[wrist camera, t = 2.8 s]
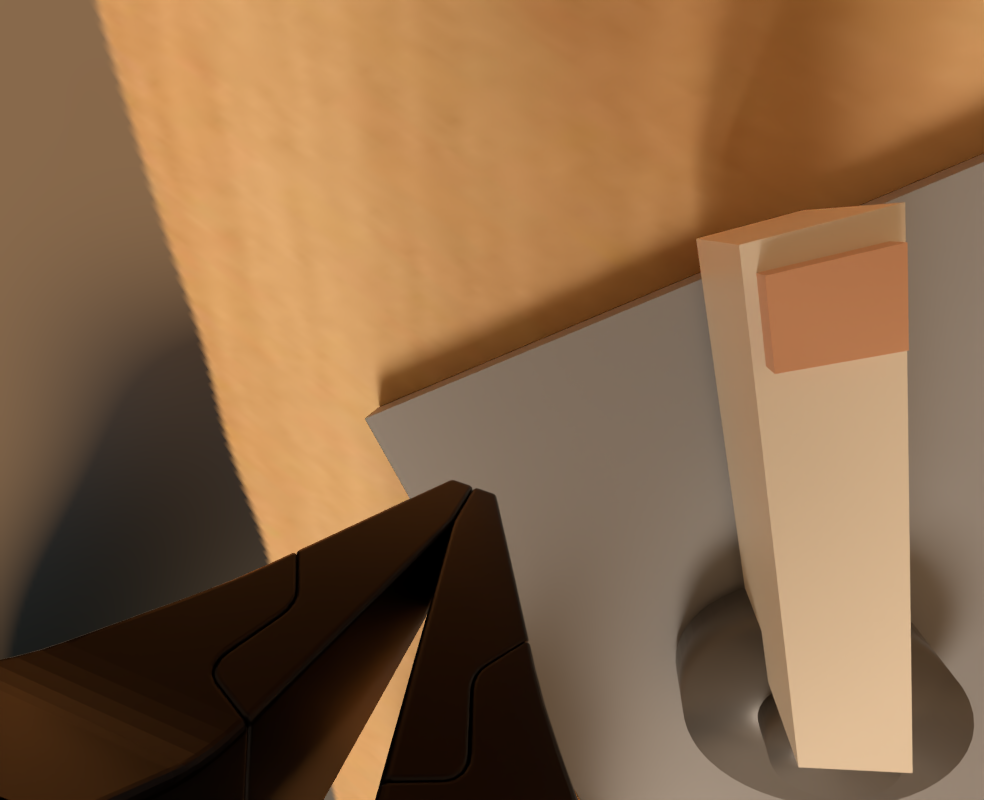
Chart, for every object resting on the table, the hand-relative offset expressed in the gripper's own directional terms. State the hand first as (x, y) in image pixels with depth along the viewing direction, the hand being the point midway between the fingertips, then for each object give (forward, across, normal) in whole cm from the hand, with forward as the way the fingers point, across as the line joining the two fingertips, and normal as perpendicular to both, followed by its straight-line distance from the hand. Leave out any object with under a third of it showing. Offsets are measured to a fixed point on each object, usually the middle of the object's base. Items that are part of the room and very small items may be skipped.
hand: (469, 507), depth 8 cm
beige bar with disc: (+5, -8, +1) cm, 10 cm away
